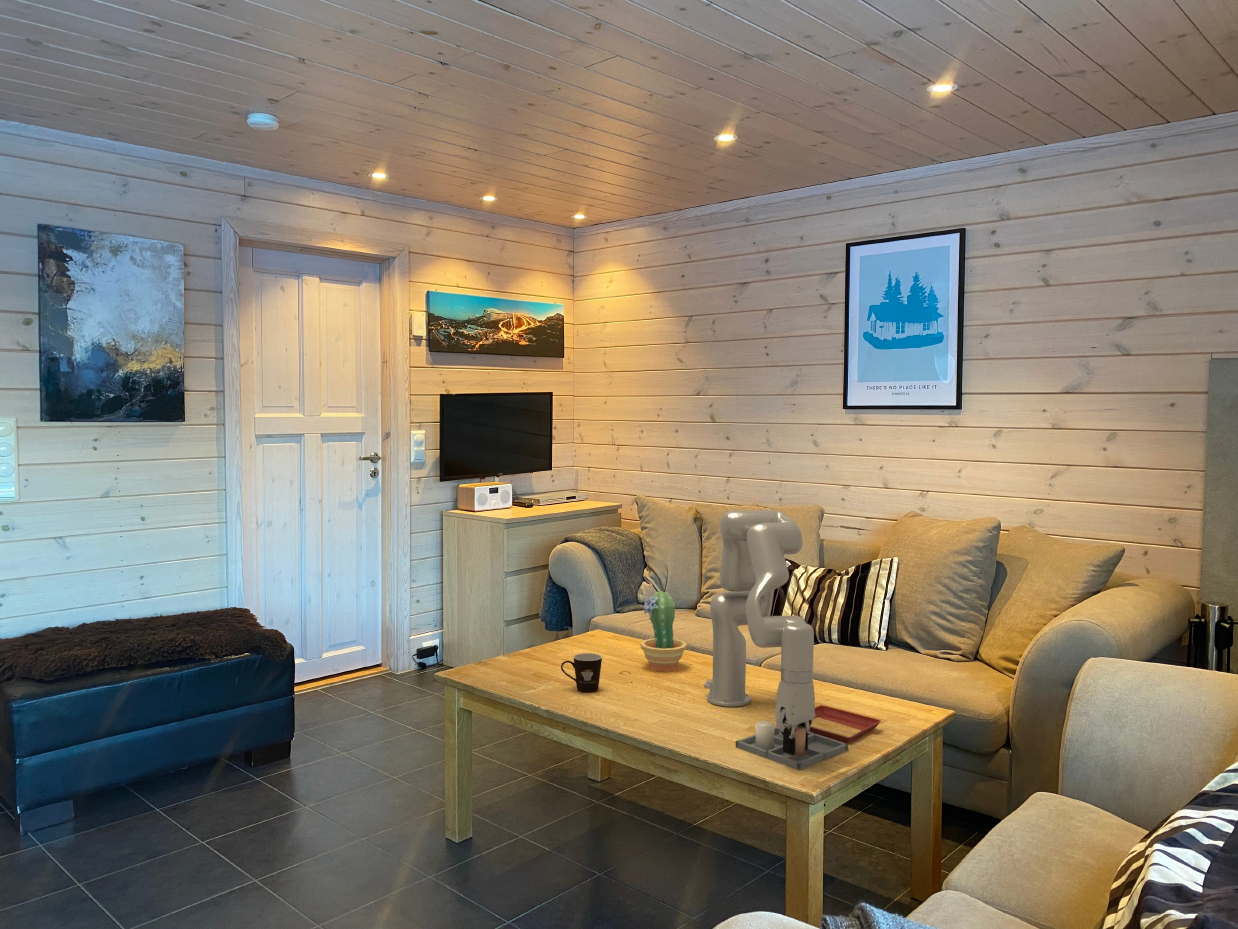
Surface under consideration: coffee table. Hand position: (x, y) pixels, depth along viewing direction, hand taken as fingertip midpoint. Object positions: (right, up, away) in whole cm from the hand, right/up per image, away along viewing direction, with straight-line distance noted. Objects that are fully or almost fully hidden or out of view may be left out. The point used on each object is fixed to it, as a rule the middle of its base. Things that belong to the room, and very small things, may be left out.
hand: (795, 750), depth 218 cm
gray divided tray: (0, -3, +7) cm, 7 cm away
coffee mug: (-53, 0, +57) cm, 78 cm away
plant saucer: (+15, -2, +22) cm, 27 cm away
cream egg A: (-6, -2, +7) cm, 10 cm away
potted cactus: (-28, +1, +81) cm, 86 cm away
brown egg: (0, -1, 0) cm, 1 cm away
